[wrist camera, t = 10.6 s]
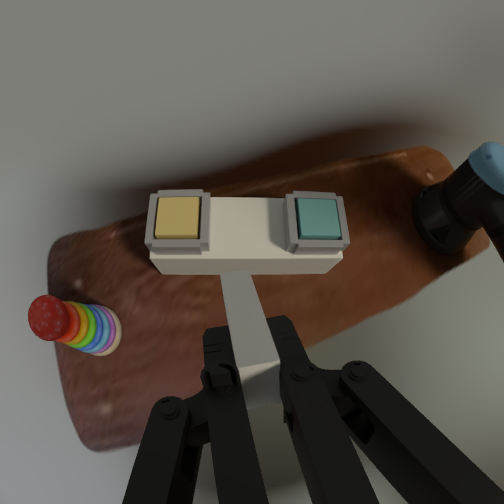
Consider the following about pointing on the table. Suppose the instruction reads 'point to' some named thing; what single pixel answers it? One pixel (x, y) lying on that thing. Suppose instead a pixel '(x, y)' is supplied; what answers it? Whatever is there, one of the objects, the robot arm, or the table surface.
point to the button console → (245, 237)
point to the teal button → (317, 219)
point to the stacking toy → (75, 324)
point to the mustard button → (178, 218)
